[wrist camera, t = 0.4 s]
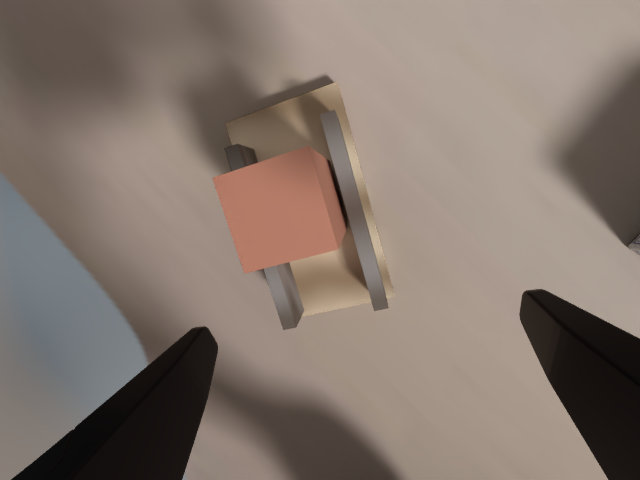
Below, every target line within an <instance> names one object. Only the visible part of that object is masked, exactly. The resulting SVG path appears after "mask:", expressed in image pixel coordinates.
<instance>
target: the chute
mask: <svg viewBox="0 0 640 480" xmlns="http://www.w3.org/2000/svg"><path fill="white" fill-rule="evenodd" d="M225 125H226V128H227V131H228V134H229V137H230V141H231V144H232V146H229V147H226V148H224V149H225V152H226V155H227V159H228V162H229V165H230V168H231V171H234V170H237V169H240V168H243V167H246V166H249V165H252V164H255V163H258V162H261V161H264V160H267V159H270V158H273V157H276V156H279V155H282V154H285V153H288V152H291V151H294V150H297V149H300V148H303V147H306V146H310V147H311V148H312V149H314V150H315V151H317V152H318V153H320V154H321V155H322V156H324V157H325V158H327V159H328V160H329V161H330V163H331V166H332V170H333V173H334V177H335V181H336V184H337V188H338V191H339V195H340V199H341V202H342V206H343V209H344V213H345V216H346V220H347V224H348V227H347V230H346V232H345V235H344V237H343V239H342V242H341V244H340V247H339V249H338V250H334V251H330V252H327V253H323V254H319V255H315V256H311V257H307V258H303V259H299V260H295V261H291V262H288V263H284V264H280V265H276V266H272V267H268V268H264V272H265V275H266V278H267V281H268V284H269V287H270V290H271V293H272V296H273V300H274V303H275V306H276V309H277V312H278V315H279V318H280V321H281V324H282V327H283V330H286V329H291V328H296V327H297V324H298V322H299V320H300V318H301V317H303V316H308V315H312V314H317V313H322V312H326V311H331V310H336V309H340V308H345V307H350V306H354V305H359V304H363V303H368V302H372V305H373V309H374V311H377V310H382V309H386V308H388V303H387V298H391V297H395V296H394V292H393V289H392V285H391V281H390V277H389V274H388V270H387V266H386V262H385V258H384V255H383V251H382V247H381V243H380V240H379V236H378V232H377V228H376V225H375V221H374V217H373V213H372V210H371V206H370V202H369V198H368V194H367V191H366V187H365V183H364V179H363V176H362V172H361V168H360V164H359V161H358V157H357V153H356V149H355V146H354V142H353V138H352V134H351V130H350V127H349V123H348V119H347V115H346V112H345V108H344V104H343V100H342V97H341V93H340V89H339V85H338V82H335V83H332V84H329V85H327V86H324V87H321V88H319V89H316V90H313V91H311V92H308V93H305V94H302V95H300V96H297V97H294V98H292V99H289V100H286V101H284V102H281V103H278V104H275V105H273V106H270V107H267V108H265V109H262V110H259V111H257V112H254V113H251V114H248V115H246V116H243V117H240V118H238V119H235V120H232V121H230V122H227V123H225Z"/></svg>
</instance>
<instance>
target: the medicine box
mask: <svg viewBox="0 0 640 480" xmlns="http://www.w3.org/2000/svg"><path fill="white" fill-rule="evenodd" d="M628 247H629V248H630V249H632V250H633V251H635V252H636V253H638V254H640V235H639V236H638V237H637V238H636V239H635V240H634V241H633V242H632V243H631V244H629V245H628Z"/></svg>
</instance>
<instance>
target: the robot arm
mask: <svg viewBox="0 0 640 480" xmlns="http://www.w3.org/2000/svg"><path fill="white" fill-rule="evenodd" d="M520 320H521V323H522V325H523V327H524V330H525V332H526V334H527V336H528V338H529V340H530V342H531V345H532V347H533V349H534V351H535V353H536V355H537V357H538V359H539V362H540V364H541V366H542V368H543V370H544V372H545V374H546V376H547V378H548V380H549V382H550V384H551V385H552V387H553V389H554V390H555V392H556V394H557V395H558V397H559V399H560V400H561V402H562V404H563V405H564V407H565V409H566V410H567V412H568V414H569V415H570V417H571V419H572V420H573V422H574V423H575V425H576V427H577V428H578V430H579V432H580V433H581V435H582V437H583V438H584V440H585V442H586V443H587V445H588V447H589V448H590V450H591V452H592V453H593V455H594V457H595V458H596V460H597V462H598V463H599V465H600V466H601V468H602V470H603V471H604V473H605V475H606V476H607V478H608V480H640V339H639V338H637V337H635V336H634V335H632V334H630V333H628V332H626V331H624V330H622V329H620V328H618V327H616V326H614V325H612V324H610V323H608V322H606V321H604V320H602V319H600V318H598V317H596V316H594V315H593V314H591V313H589V312H587V311H585V310H583V309H581V308H579V307H577V306H575V305H573V304H571V303H569V302H567V301H565V300H563V299H561V298H559V297H557V296H555V295H554V294H552V293H550V292H548V291H546V290H543V289H536V290H527V291H525V292H524V293H523V295H522V301H521V307H520ZM217 353H218V345H217V342H216V341H215V339H214V337H213V336H212V334H211V332H210V330H209V329H208V328H207V327H204V326H203V327H195V328H192V329H191V330H190V331H189V332H187V333H186V334H185V335H184V336H183V337H181V338H180V339H179V340H178V341H177V342H175V343H174V344H173V345H172V346H171V347H170V348H168V349H167V350H166V351H165V352H164V353H162V354H161V355H160V356H159V357H158V358H157V359H155V360H154V361H153V362H152V363H151V364H149V365H148V366H147V367H146V368H145V369H144V370H142V371H141V372H140V373H139V374H138V375H136V376H135V377H134V378H133V379H132V380H130V381H129V382H128V383H127V384H126V385H125V386H123V387H122V388H121V389H120V390H119V391H117V392H116V393H115V394H114V395H113V396H112V397H110V398H109V399H108V400H107V401H106V402H104V403H103V404H102V405H101V406H100V407H98V408H97V409H96V410H95V411H94V412H93V413H91V414H90V415H89V416H88V417H87V418H85V419H84V420H83V421H82V422H81V423H80V424H78V425H77V426H76V427H75V429H74V430H71V431H70V432H69V433H68V434H66V435H65V436H64V437H63V438H62V439H61V440H59V441H58V442H57V443H56V444H55V445H53V446H52V447H51V448H50V449H49V450H47V451H46V452H45V453H44V454H42V455H41V456H40V457H39V458H38V459H37V460H35V461H34V462H33V463H32V464H30V465H29V466H28V467H26V468H25V469H24V470H23V471H21V472H20V473H19V474H18V475H16V476H15V477H14V478H12V479H11V480H182V478H183V475H184V472H185V469H186V466H187V463H188V459H189V456H190V453H191V450H192V447H193V444H194V441H195V437H196V434H197V431H198V428H199V425H200V422H201V418H202V415H203V412H204V409H205V406H206V402H207V398H208V394H209V390H210V385H211V381H212V376H213V371H214V367H215V362H216V358H217Z"/></svg>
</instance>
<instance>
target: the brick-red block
mask: <svg viewBox="0 0 640 480" xmlns="http://www.w3.org/2000/svg"><path fill="white" fill-rule="evenodd" d="M213 181H214V184H215V187H216V190H217V193H218V196H219V199H220V202H221V205H222V208H223V211H224V214H225V217H226V220H227V223H228V226H229V229H230V232H231V235H232V238H233V241H234V244H235V247H236V250H237V253H238V256H239V259H240V261H241V264H242V267H243V270H244V273H248V272H252V271H256V270H260V269H264V268H268V267H272V266H276V265H280V264H284V263H288V262H291V261H295V260H299V259H303V258H307V257H311V256H315V255H319V254H323V253H327V252H330V251H334V250H338V249H339V247H340V244H341V242H342V239H343V237H344V235H345V232H346V230H347V227H348V224H347V220H346V216H345V213H344V209H343V206H342V202H341V199H340V195H339V191H338V188H337V184H336V181H335V177H334V173H333V170H332V166H331V163H330V161H329V160H328V159H327V158H325V157H324V156H322V155H321V154H320V153H318V152H317V151H315V150H314V149H312V148H311V147H310V146H306V147H303V148H300V149H297V150H294V151H291V152H288V153H285V154H282V155H279V156H276V157H273V158H270V159H267V160H264V161H261V162H258V163H255V164H252V165H249V166H246V167H243V168H240V169H237V170H234V171H231V172H229V173H226V174H223V175H220V176H217V177H214V178H213Z"/></svg>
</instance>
